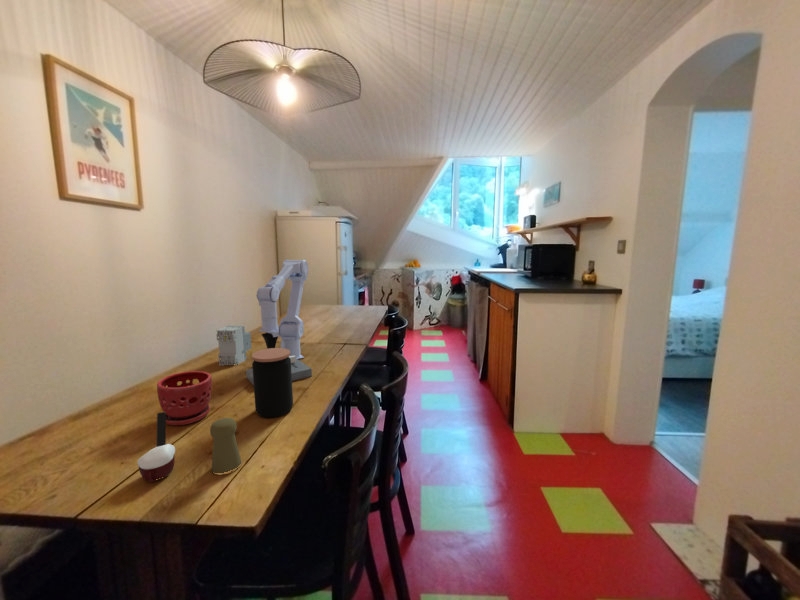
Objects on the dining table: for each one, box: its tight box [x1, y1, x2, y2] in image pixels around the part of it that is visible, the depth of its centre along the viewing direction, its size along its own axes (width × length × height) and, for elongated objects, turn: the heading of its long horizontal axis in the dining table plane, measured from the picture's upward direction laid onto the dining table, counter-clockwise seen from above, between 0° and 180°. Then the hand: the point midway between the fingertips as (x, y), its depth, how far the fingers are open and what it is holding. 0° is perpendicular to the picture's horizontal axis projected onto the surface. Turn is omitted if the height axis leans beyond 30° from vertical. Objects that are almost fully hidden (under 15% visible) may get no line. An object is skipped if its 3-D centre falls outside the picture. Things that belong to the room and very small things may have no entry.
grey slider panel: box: [245, 359, 313, 387], centre depth 127 cm, size 14×20×3 cm
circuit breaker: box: [215, 325, 252, 366], centre depth 146 cm, size 8×14×15 cm, turn 174°
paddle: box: [289, 356, 296, 363], centre depth 133 cm, size 2×3×2 cm, turn 128°
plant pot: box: [156, 370, 213, 426], centre depth 96 cm, size 13×13×12 cm
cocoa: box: [137, 411, 176, 483], centre depth 72 cm, size 10×6×12 cm, turn 174°
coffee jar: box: [251, 347, 294, 419], centre depth 100 cm, size 11×11×18 cm
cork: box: [209, 417, 242, 473], centre depth 75 cm, size 6×6×11 cm
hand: (271, 351), depth 133 cm, fingers closed
